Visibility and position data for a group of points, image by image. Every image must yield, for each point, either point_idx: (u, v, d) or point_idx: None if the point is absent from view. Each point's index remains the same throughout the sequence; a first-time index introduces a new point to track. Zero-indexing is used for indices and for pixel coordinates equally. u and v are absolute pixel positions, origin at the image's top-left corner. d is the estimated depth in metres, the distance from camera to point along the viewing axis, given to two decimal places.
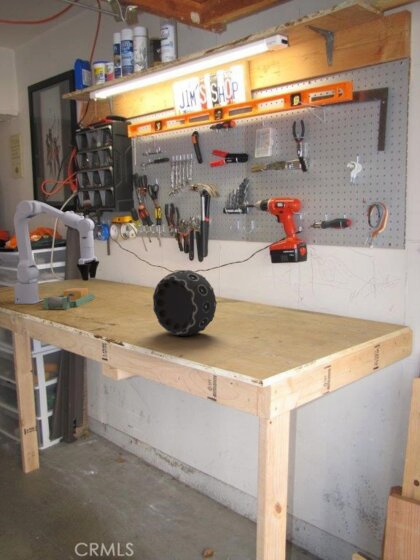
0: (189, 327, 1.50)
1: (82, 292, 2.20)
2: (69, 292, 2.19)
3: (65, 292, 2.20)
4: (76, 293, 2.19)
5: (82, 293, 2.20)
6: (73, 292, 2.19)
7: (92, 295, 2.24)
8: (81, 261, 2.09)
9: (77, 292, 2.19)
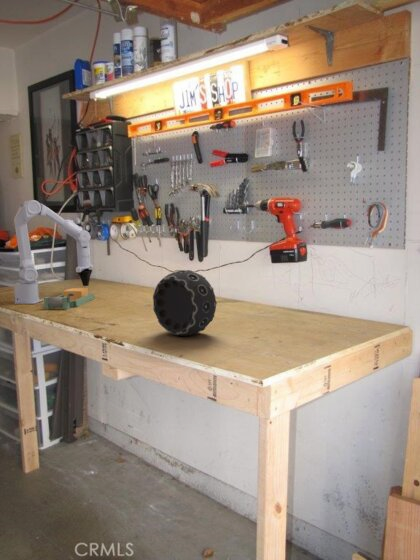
0: (189, 327, 1.50)
1: (82, 292, 2.21)
2: (69, 292, 2.19)
3: (65, 292, 2.19)
4: (77, 293, 2.19)
5: (82, 293, 2.20)
6: (74, 292, 2.19)
7: (92, 295, 2.24)
8: (78, 269, 2.25)
9: (78, 292, 2.19)
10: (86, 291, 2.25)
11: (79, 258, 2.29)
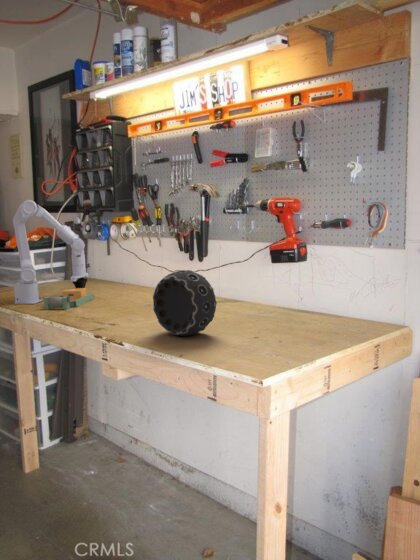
0: (189, 327, 1.50)
1: (82, 292, 2.20)
2: (69, 292, 2.18)
3: (64, 292, 2.18)
4: (76, 293, 2.18)
5: (81, 293, 2.20)
6: (73, 292, 2.18)
7: (92, 295, 2.24)
8: (73, 278, 2.20)
9: (77, 292, 2.18)
10: (85, 291, 2.25)
11: (74, 267, 2.24)
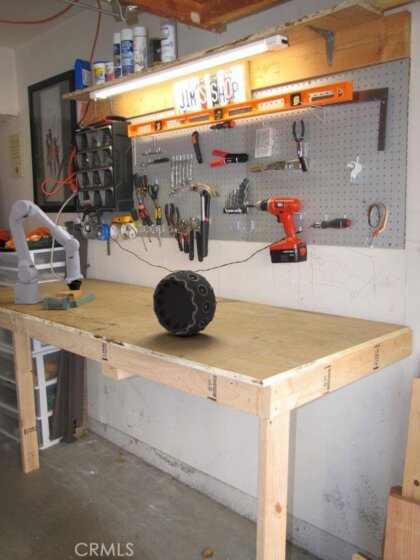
0: (189, 327, 1.50)
1: (75, 294, 2.14)
2: (62, 294, 2.13)
3: (58, 294, 2.13)
4: None
5: (75, 295, 2.14)
6: (66, 294, 2.13)
7: (92, 295, 2.24)
8: (67, 280, 2.14)
9: None
10: (80, 293, 2.19)
11: (68, 269, 2.18)
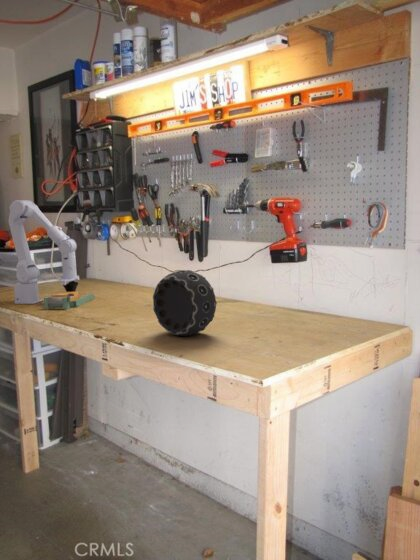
0: (189, 327, 1.50)
1: (72, 296, 2.11)
2: (58, 296, 2.10)
3: (54, 296, 2.10)
4: None
5: (71, 297, 2.10)
6: (62, 296, 2.09)
7: (92, 295, 2.24)
8: (63, 282, 2.10)
9: (66, 296, 2.09)
10: (76, 295, 2.15)
11: (64, 270, 2.14)
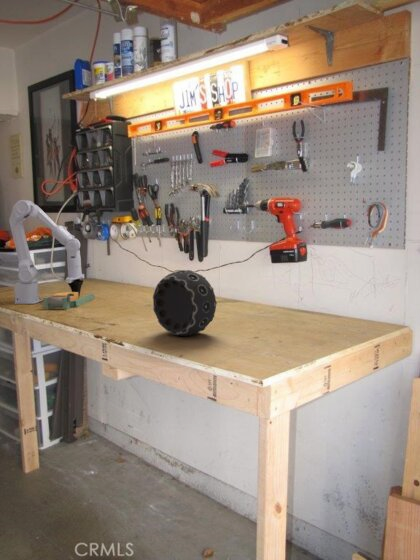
0: (189, 327, 1.50)
1: (72, 296, 2.11)
2: (58, 296, 2.10)
3: (54, 296, 2.10)
4: None
5: (71, 298, 2.10)
6: (62, 296, 2.09)
7: (92, 295, 2.24)
8: (68, 280, 2.15)
9: (66, 296, 2.09)
10: (76, 295, 2.15)
11: (69, 268, 2.19)
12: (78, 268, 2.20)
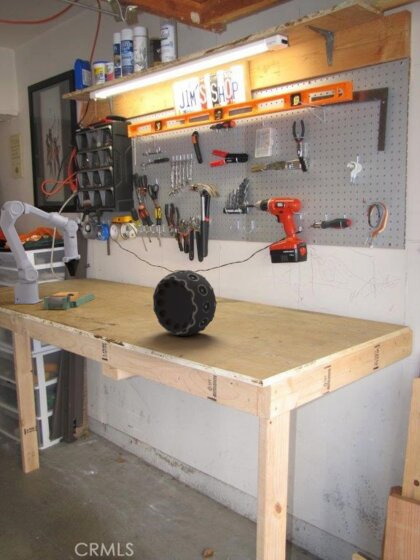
0: (189, 327, 1.50)
1: (72, 296, 2.11)
2: (58, 296, 2.10)
3: (54, 296, 2.10)
4: None
5: (72, 298, 2.10)
6: (62, 296, 2.09)
7: (92, 295, 2.24)
8: (65, 259, 2.23)
9: None
10: (76, 295, 2.15)
11: (66, 248, 2.28)
12: (74, 248, 2.28)
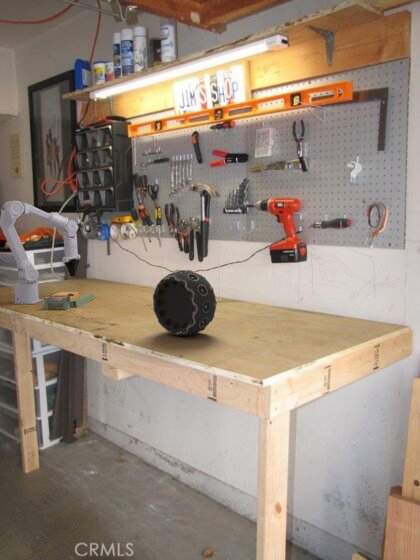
0: (189, 327, 1.50)
1: (72, 296, 2.11)
2: (58, 296, 2.10)
3: (54, 296, 2.10)
4: None
5: (71, 298, 2.10)
6: (62, 296, 2.09)
7: (92, 295, 2.24)
8: (65, 259, 2.23)
9: (66, 296, 2.09)
10: (77, 295, 2.15)
11: (66, 248, 2.28)
12: (74, 248, 2.28)
